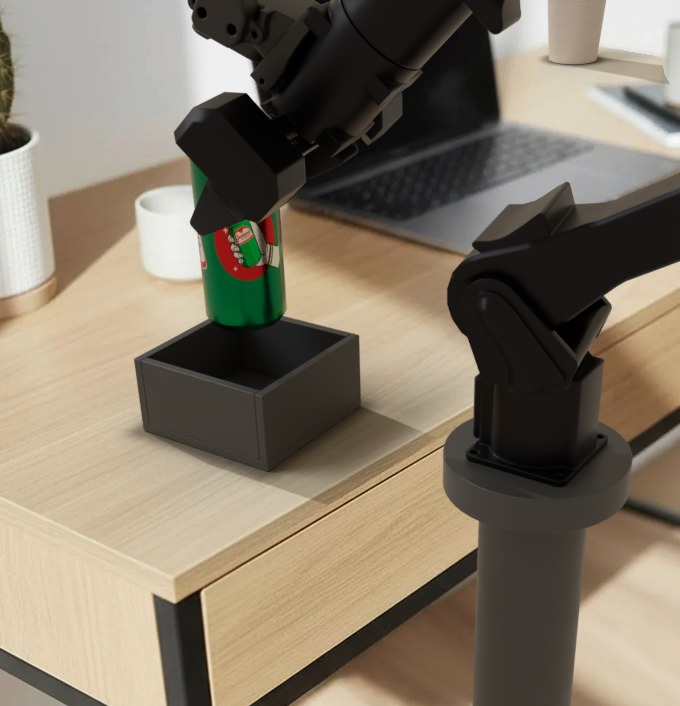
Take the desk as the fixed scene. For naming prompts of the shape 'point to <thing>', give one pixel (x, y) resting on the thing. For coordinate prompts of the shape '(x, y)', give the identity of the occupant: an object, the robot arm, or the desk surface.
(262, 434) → the open square box
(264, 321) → the soda can
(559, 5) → the coffee cup
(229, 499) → the desk surface
